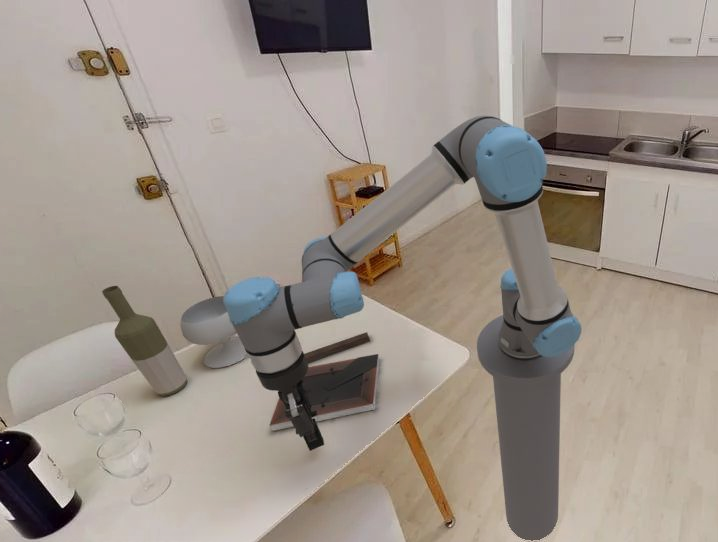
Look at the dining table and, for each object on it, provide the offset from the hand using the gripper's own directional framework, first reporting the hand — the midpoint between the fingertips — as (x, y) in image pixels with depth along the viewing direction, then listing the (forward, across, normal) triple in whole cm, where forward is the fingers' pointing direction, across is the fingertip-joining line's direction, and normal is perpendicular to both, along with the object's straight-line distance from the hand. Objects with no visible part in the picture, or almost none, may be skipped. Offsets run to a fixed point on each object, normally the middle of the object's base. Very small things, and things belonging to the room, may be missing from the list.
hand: (316, 444), depth 83 cm
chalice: (+4, -47, -18) cm, 50 cm away
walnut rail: (+4, -32, +4) cm, 32 cm away
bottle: (+4, -40, -30) cm, 50 cm away
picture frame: (+4, -17, +4) cm, 18 cm away
